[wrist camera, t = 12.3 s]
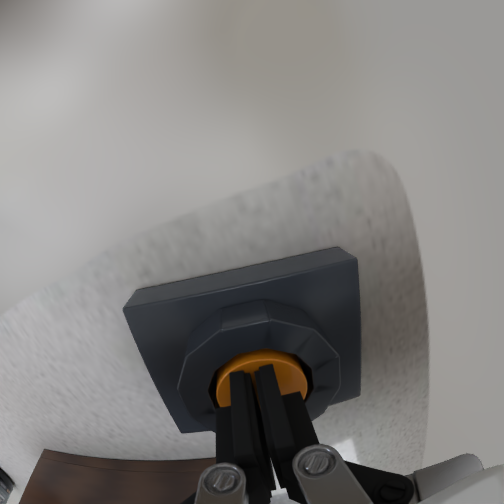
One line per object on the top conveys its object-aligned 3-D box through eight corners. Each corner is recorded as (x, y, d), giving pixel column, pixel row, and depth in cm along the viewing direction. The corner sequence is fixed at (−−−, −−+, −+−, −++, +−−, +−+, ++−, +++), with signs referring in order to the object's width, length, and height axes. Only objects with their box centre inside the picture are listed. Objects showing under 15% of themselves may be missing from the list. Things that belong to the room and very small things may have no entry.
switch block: (338, 245, 13) (378, 270, 10) (347, 373, 15) (373, 417, 12) (135, 289, 13) (106, 329, 9) (184, 408, 15) (178, 458, 11)
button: (292, 326, 11) (303, 349, 10) (301, 388, 12) (310, 412, 11) (207, 344, 11) (205, 369, 10) (227, 404, 12) (228, 429, 11)
